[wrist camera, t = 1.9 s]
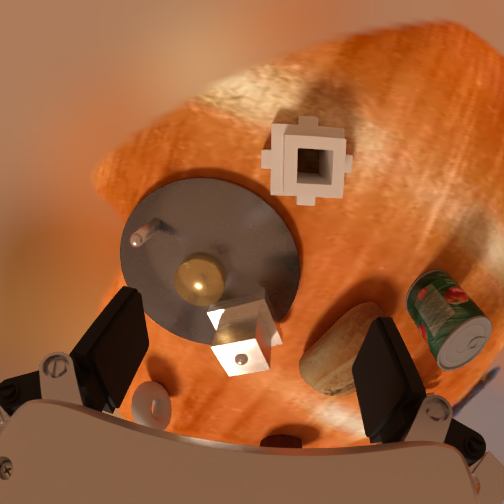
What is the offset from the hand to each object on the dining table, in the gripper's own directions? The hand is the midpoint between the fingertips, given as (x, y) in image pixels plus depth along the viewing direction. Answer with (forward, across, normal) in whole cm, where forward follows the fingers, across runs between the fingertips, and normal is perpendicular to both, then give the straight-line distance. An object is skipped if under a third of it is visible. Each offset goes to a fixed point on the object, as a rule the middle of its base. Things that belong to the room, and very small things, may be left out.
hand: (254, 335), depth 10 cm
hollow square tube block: (+20, -3, -5) cm, 21 cm away
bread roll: (+20, -12, +17) cm, 29 cm away
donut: (+20, +15, +35) cm, 43 cm away
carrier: (+20, +6, +9) cm, 23 cm away
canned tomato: (+20, -24, +9) cm, 33 cm away
